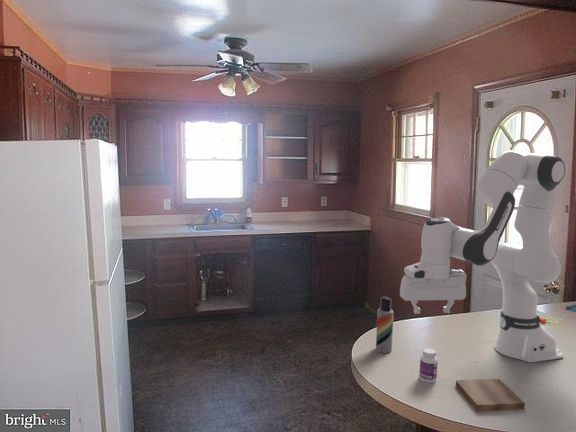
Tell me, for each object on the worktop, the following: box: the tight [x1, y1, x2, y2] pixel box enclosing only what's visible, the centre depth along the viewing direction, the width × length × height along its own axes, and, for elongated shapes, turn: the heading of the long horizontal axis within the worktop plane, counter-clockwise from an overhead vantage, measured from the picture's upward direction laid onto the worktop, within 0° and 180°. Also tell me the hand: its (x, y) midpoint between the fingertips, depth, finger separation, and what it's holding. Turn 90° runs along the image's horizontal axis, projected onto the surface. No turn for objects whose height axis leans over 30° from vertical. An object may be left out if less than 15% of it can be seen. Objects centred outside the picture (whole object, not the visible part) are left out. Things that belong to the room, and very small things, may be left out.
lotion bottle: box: [375, 296, 395, 354], centre depth 172 cm, size 6×6×20 cm
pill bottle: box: [418, 348, 439, 384], centre depth 152 cm, size 5×5×10 cm
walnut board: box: [455, 378, 526, 413], centre depth 142 cm, size 14×14×2 cm
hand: (431, 312), depth 149 cm, fingers open, 8 cm apart
